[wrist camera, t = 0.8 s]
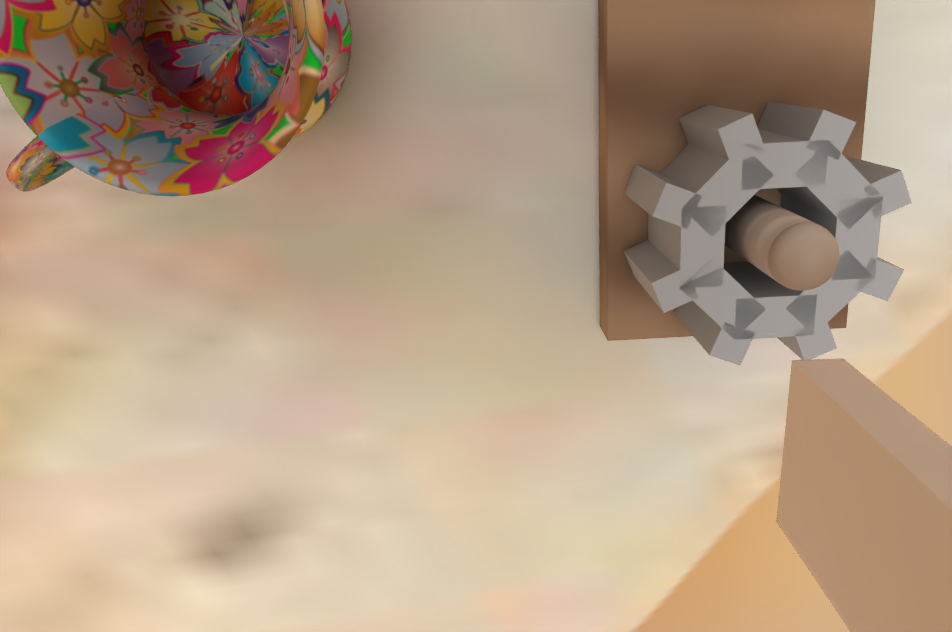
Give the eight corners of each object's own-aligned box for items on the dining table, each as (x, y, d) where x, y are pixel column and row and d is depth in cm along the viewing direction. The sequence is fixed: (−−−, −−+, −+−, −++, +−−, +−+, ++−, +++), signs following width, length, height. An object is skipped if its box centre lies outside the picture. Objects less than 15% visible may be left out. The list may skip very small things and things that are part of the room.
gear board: (597, -190, 31) (663, -303, 21) (867, -203, 31) (1056, -322, 21) (600, 325, 37) (651, 422, 27) (825, 313, 37) (958, 405, 27)
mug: (248, -151, 31) (146, -253, 21) (412, 52, 33) (393, 50, 23) (28, 64, 33) (-163, 68, 23) (197, 241, 35) (92, 317, 25)
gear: (623, 109, 32) (653, 118, 27) (852, 97, 32) (922, 104, 27) (622, 326, 34) (649, 370, 30) (833, 315, 34) (894, 357, 30)
